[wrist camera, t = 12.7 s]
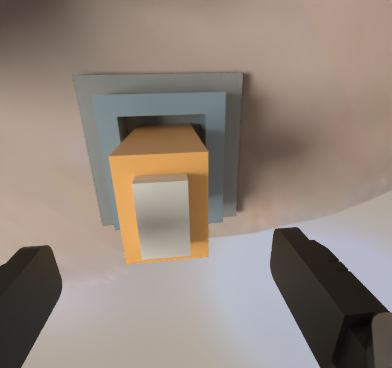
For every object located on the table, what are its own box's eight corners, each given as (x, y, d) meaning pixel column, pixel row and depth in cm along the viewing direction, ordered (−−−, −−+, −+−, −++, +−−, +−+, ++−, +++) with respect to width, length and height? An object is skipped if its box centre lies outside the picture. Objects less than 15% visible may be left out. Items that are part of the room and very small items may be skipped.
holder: (239, 73, 21) (257, 68, 17) (233, 211, 26) (245, 234, 22) (77, 76, 19) (52, 71, 15) (104, 220, 25) (91, 246, 21)
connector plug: (189, 122, 21) (212, 157, 10) (191, 184, 23) (211, 269, 12) (138, 124, 20) (102, 162, 9) (145, 187, 23) (122, 277, 12)
